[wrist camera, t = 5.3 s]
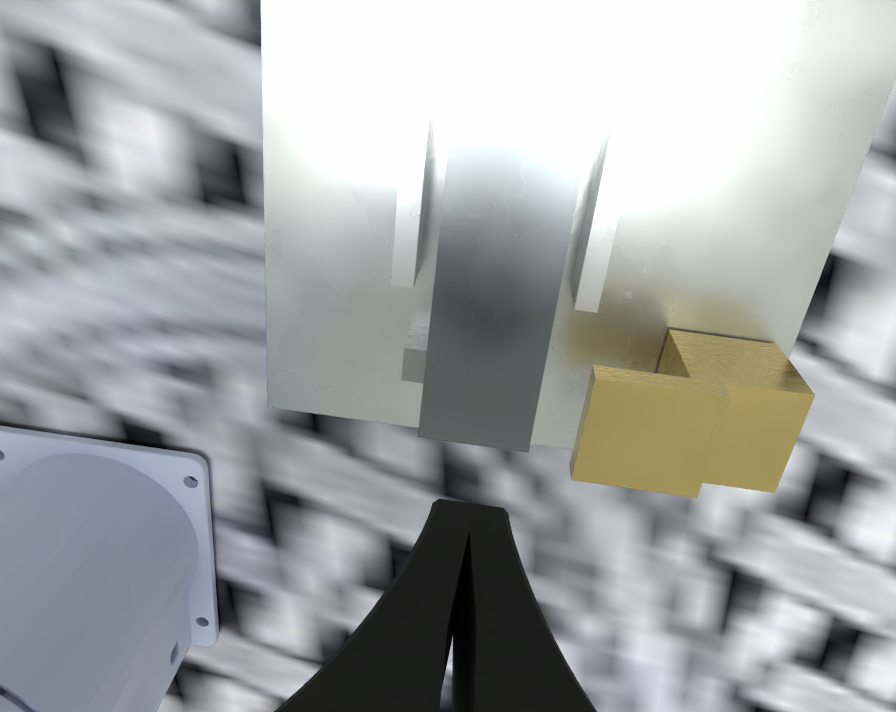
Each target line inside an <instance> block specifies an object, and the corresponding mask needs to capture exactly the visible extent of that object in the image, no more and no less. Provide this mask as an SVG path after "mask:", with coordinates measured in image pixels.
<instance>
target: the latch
mask: <svg viewBox="0 0 896 712" xmlns="http://www.w3.org/2000/svg"><path fill="white" fill-rule="evenodd" d="M814 397H815V394H814V393H813V392H812V390H811V389H810V388H809V386H808V385H807V384H806V382H805V381H804V380H803V378H802V377H801V376H800V374H799V373H798V372H797V370H796V369H795V368H794V366H793V365H792V363H791V362H790V361H789V359H788V358H787V357H786V355H785V354H784V353H783V351H782V350H781V349H780V347H779V346H778V345H777V344H773V343H766V342H758V341H751V340H743V339H736V338H729V337H721V336H714V335H706V334H699V333H692V332H684V331H677V330H669V331H668V335H667V338H666V342H665V345H664V349H663V353H662V356H661V360H660V363H659V367H658V370H657V373H649V372H642V371H635V370H627V369H620V368H613V367H606V366H598V365H593V366H592V370H591V375H590V379H589V383H588V388H587V392H586V396H585V400H584V405H583V409H582V413H581V418H580V422H579V426H578V431H577V435H576V439H575V443H574V448H573V452H572V456H571V461H570V471H571V480H575V481H582V482H589V483H596V484H603V485H610V486H617V487H624V488H631V489H638V490H645V491H652V492H659V493H666V494H673V495H680V496H687V497H695V498H697V496H698V493H699V490H700V487H701V484H702V483H709V484H717V485H724V486H731V487H738V488H745V489H752V490H759V491H766V492H773V493H775V491H776V489H777V486H778V484H779V481H780V479H781V476H782V474H783V472H784V469H785V467H786V464H787V462H788V460H789V457H790V455H791V452H792V450H793V447H794V445H795V443H796V440H797V438H798V435H799V433H800V430H801V428H802V426H803V423H804V421H805V418H806V416H807V414H808V411H809V409H810V406H811V404H812V401H813V399H814Z"/></svg>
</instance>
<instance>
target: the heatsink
mask: <svg viewBox="0 0 896 712" xmlns="http://www.w3.org/2000/svg"><path fill="white" fill-rule="evenodd" d="M463 6H464V0H261V43H262V102H263V162H264V221H265V281H266V341H267V400H268V407H272V408H280V409H287V410H294V411H301V412H308V413H315V414H322V415H329V416H336V417H343V418H351V419H358V420H365V421H372V422H379V423H386V424H393V425H400V426H407V427H415V428H419V419H420V410H421V401H422V391H423V382H424V372H425V363H426V354H427V344H428V335H429V325H430V316H431V307H432V297H433V288H434V279H435V269H436V260H437V250H438V241H439V232H440V222H441V213H442V203H443V194H444V185H445V175H446V166H447V156H448V147H449V138H450V128H451V119H452V110H453V100H454V91H455V81H456V72H457V63H458V53H459V44H460V34H461V25H462V16H463ZM895 79H896V0H616V3H615V8H614V13H613V18H612V23H611V28H610V34H609V39H608V44H607V49H606V54H605V59H604V65H603V70H602V75H601V80H600V85H599V90H598V96H597V101H596V106H595V111H594V116H593V121H592V127H591V132H590V137H589V142H588V147H587V152H586V158H585V163H584V168H583V173H582V178H581V183H580V189H579V194H578V199H577V204H576V209H575V214H574V220H573V225H572V230H571V235H570V240H569V245H568V250H567V256H566V261H565V266H564V271H563V276H562V281H561V287H560V292H559V297H558V302H557V307H556V312H555V318H554V323H553V328H552V333H551V338H550V343H549V349H548V354H547V359H546V364H545V369H544V374H543V380H542V385H541V390H540V395H539V400H538V405H537V411H536V416H535V421H534V426H533V431H532V436H531V442H530V444H535V445H542V446H550V447H557V448H564V449H571V450H573V448H574V443H575V439H576V435H577V431H578V426H579V422H580V418H581V413H582V409H583V405H584V400H585V396H586V392H587V388H588V383H589V379H590V375H591V370H592V366H593V365H598V366H606V367H613V368H620V369H627V370H635V371H642V372H649V373H657V370H658V367H659V363H660V360H661V356H662V353H663V349H664V345H665V342H666V338H667V335H668V331H669V330H677V331H684V332H692V333H699V334H706V335H714V336H721V337H729V338H736V339H743V340H751V341H758V342H766V343H773V344H777V345H778V346H779V347H780V349H781V350H782V351H783V353H784V354H785V355H786V357H787V358H788V359H789V356H790V354H791V351H792V348H793V346H794V343H795V341H796V338H797V335H798V333H799V330H800V328H801V325H802V322H803V320H804V317H805V314H806V312H807V309H808V307H809V304H810V301H811V299H812V296H813V293H814V291H815V288H816V286H817V283H818V280H819V278H820V275H821V272H822V270H823V267H824V265H825V262H826V259H827V257H828V254H829V252H830V249H831V246H832V244H833V241H834V238H835V236H836V233H837V231H838V228H839V225H840V223H841V220H842V217H843V215H844V212H845V210H846V207H847V204H848V202H849V199H850V196H851V194H852V191H853V189H854V186H855V183H856V181H857V178H858V176H859V173H860V170H861V168H862V165H863V162H864V160H865V157H866V155H867V152H868V149H869V147H870V144H871V141H872V139H873V136H874V134H875V131H876V128H877V126H878V123H879V121H880V118H881V115H882V113H883V110H884V107H885V105H886V102H887V100H888V97H889V94H890V92H891V89H892V86H893V84H894V81H895Z"/></svg>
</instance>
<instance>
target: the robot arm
mask: <svg viewBox="0 0 896 712" xmlns="http://www.w3.org/2000/svg"><path fill="white" fill-rule="evenodd" d="M0 450H1V451H2V452H3V453H2V452H1V451H0V712H157V710H158V708H159V706H160V704H161V702H162V700H163V698H164V696H165V694H166V692H167V690H168V688H169V686H170V684H171V682H172V680H173V678H174V676H175V674H176V672H177V670H178V668H179V666H180V664H181V662H182V660H183V658H184V656H185V654H186V652H187V650H188V648H189V646H190V645H195V646H202V647H210V646H213V645H214V644H215V643H216V641H217V639H218V637H219V625H218V610H217V595H216V580H215V565H214V550H213V536H212V521H211V506H210V491H209V476H208V466H207V462H206V461H205V460H204V459H203V458H202V457H201V456H199V455H197V454H194V453H187V452H180V451H173V450H166V449H159V448H152V447H145V446H138V445H131V444H124V443H117V442H110V441H103V440H96V439H90V438H83V437H76V436H69V435H62V434H55V433H48V432H41V431H34V430H27V429H20V428H13V427H6V426H0ZM189 476H191V477H194V478H195V479H196V480H197V481H193V480H192V479H190V478H189ZM452 637H453V675H452V712H597V711H596V709H595V708H594V706H593V705H592V703H591V702H590V700H589V698H588V697H587V695H586V694H585V692H584V691H583V689H582V687H581V686H580V684H579V682H578V681H577V679H576V677H575V676H574V674H573V672H572V670H571V669H570V667H569V665H568V664H567V662H566V660H565V658H564V656H563V654H562V653H561V651H560V649H559V647H558V645H557V643H556V641H555V639H554V637H553V635H552V633H551V631H550V629H549V627H548V625H547V623H546V621H545V619H544V617H543V614H542V612H541V610H540V608H539V605H538V603H537V601H536V598H535V596H534V594H533V591H532V589H531V586H530V584H529V581H528V579H527V576H526V574H525V571H524V568H523V566H522V563H521V560H520V557H519V554H518V551H517V548H516V544H515V541H514V538H513V534H512V530H511V526H510V521H509V515H508V513H507V512H506V511H505V509H504V508H500V507H493V506H486V505H479V504H472V503H465V502H458V501H451V500H444V499H438V500H437V501H435V502H433V504H432V507H431V511H430V513H429V516H428V519H427V521H426V523H425V525H424V528H423V530H422V532H421V534H420V536H419V538H418V539H417V541H416V543H415V545H414V547H413V549H412V550H411V552H410V554H409V555H408V557H407V559H406V560H405V562H404V563H403V565H402V567H401V568H400V570H399V572H398V573H397V575H396V576H395V578H394V579H393V581H392V582H391V584H390V585H389V586H388V588H387V589H386V591H385V592H384V593H383V595H382V596H381V598H380V599H379V600H378V602H377V603H376V605H375V606H374V607H373V609H372V610H371V611H370V613H369V614H368V615H367V616H366V618H365V619H364V620H363V621H362V623H361V624H360V625H359V626H358V628H357V629H356V630H355V631H354V632H353V633H352V635H351V636H350V637H349V638H348V639H347V640H346V642H345V643H344V644H343V645H342V646H341V647H340V648H339V649H338V651H337V652H336V653H335V654H334V655H333V656H332V657H331V658H330V659H329V660H328V661H327V662H326V663H325V664H324V665H323V666H322V667H321V669H320V670H319V671H318V672H317V673H316V674H315V675H314V676H313V677H312V678H311V679H310V680H309V681H308V682H306V683H305V684H304V685H303V686H302V687H301V688H300V689H299V690H298V691H297V692H296V693H295V694H293V695H292V696H291V697H290V698H289V699H288V700H287V701H286V702H284V703H283V704H282V705H281V706H280V707H279V708H278V709H277V710H276V711H274V712H439V708H440V698H441V690H442V685H443V680H444V676H445V671H446V666H447V661H448V656H449V651H450V646H451V642H452Z"/></svg>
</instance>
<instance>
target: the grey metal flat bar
mask: <svg viewBox="0 0 896 712" xmlns="http://www.w3.org/2000/svg"><path fill="white" fill-rule="evenodd" d="M615 3H616V0H464V6H463V16H462V25H461V34H460V44H459V53H458V63H457V72H456V81H455V91H454V100H453V110H452V119H451V128H450V138H449V147H448V156H447V166H446V175H445V185H444V194H443V203H442V213H441V222H440V232H439V241H438V250H437V260H436V269H435V279H434V288H433V297H432V307H431V316H430V325H429V335H428V344H427V354H426V363H425V372H424V382H423V391H422V401H421V410H420V419H419V429H418V437H422V438H429V439H436V440H443V441H451V442H458V443H465V444H472V445H479V446H486V447H493V448H500V449H507V450H514V451H521V452H529V447H530V442H531V436H532V431H533V426H534V421H535V416H536V411H537V405H538V400H539V395H540V390H541V385H542V380H543V374H544V369H545V364H546V359H547V354H548V349H549V343H550V338H551V333H552V328H553V323H554V318H555V312H556V307H557V302H558V297H559V292H560V287H561V281H562V276H563V271H564V266H565V261H566V256H567V250H568V245H569V240H570V235H571V230H572V225H573V220H574V214H575V209H576V204H577V199H578V194H579V189H580V183H581V178H582V173H583V168H584V163H585V158H586V152H587V147H588V142H589V137H590V132H591V127H592V121H593V116H594V111H595V106H596V101H597V96H598V90H599V85H600V80H601V75H602V70H603V65H604V59H605V54H606V49H607V44H608V39H609V34H610V28H611V23H612V18H613V13H614V8H615Z"/></svg>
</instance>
